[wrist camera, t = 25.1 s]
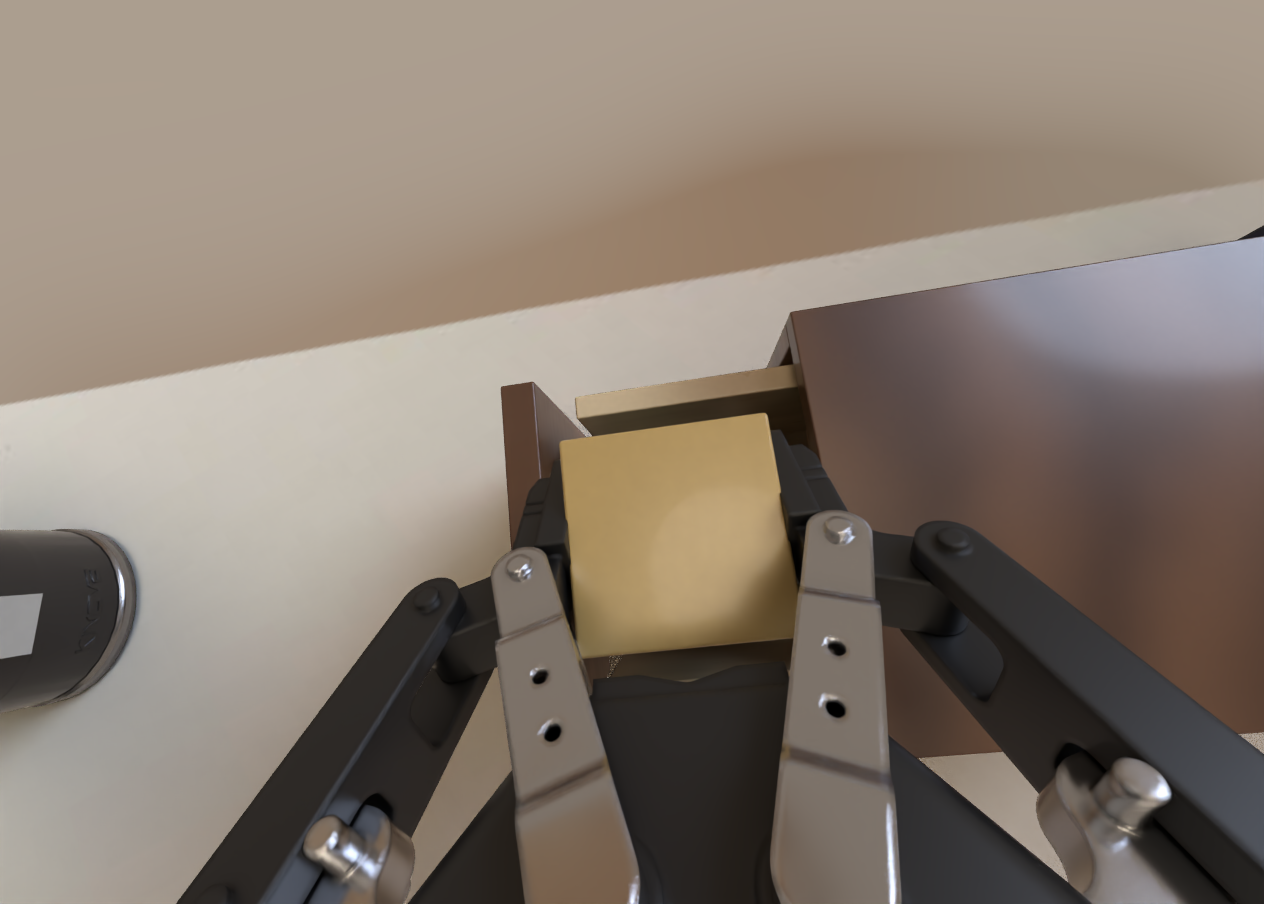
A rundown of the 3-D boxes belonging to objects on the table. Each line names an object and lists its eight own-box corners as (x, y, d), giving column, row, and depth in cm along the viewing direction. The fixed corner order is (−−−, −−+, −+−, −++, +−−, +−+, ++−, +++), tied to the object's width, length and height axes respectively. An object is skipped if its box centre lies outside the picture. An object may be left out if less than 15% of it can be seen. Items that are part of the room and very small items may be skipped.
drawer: (561, 676, 23) (484, 754, 14) (542, 443, 25) (466, 391, 17) (858, 647, 22) (968, 715, 13) (810, 405, 24) (877, 327, 15)
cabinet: (793, 662, 23) (879, 762, 12) (748, 407, 25) (789, 311, 15) (1105, 633, 21) (1492, 716, 11) (1025, 367, 24) (1280, 232, 14)
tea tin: (620, 615, 17) (576, 660, 11) (605, 479, 18) (557, 440, 12) (759, 600, 17) (807, 637, 10) (737, 461, 18) (767, 411, 11)
